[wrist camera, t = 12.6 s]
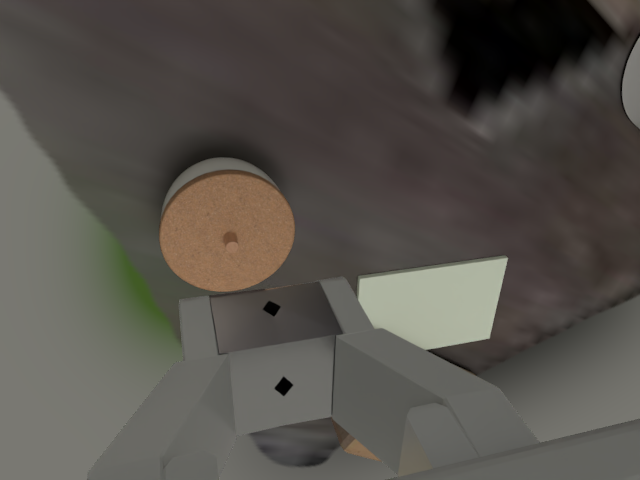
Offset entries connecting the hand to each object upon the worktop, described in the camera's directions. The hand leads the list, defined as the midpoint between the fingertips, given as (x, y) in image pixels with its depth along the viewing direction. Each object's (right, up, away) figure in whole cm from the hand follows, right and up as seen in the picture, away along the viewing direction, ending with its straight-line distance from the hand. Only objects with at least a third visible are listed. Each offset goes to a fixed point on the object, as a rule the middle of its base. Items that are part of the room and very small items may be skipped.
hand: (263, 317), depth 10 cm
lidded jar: (-8, +6, +39) cm, 40 cm away
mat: (+14, -7, +53) cm, 55 cm away
